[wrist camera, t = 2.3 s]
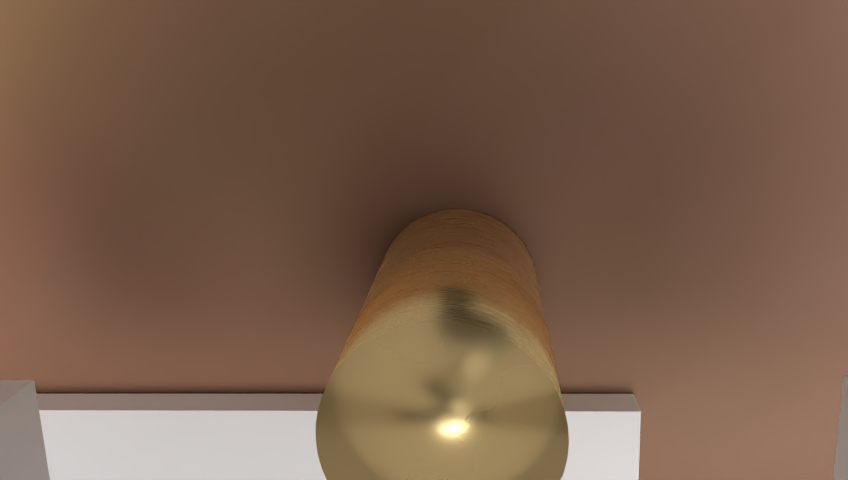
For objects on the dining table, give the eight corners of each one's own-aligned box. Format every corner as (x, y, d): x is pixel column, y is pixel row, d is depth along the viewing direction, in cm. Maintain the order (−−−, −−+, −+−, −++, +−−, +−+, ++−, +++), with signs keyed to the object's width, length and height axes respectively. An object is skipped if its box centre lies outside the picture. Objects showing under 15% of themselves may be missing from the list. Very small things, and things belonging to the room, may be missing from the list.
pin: (375, 210, 20) (306, 322, 12) (536, 207, 20) (570, 321, 12) (383, 358, 21) (324, 549, 13) (536, 357, 20) (567, 553, 13)
